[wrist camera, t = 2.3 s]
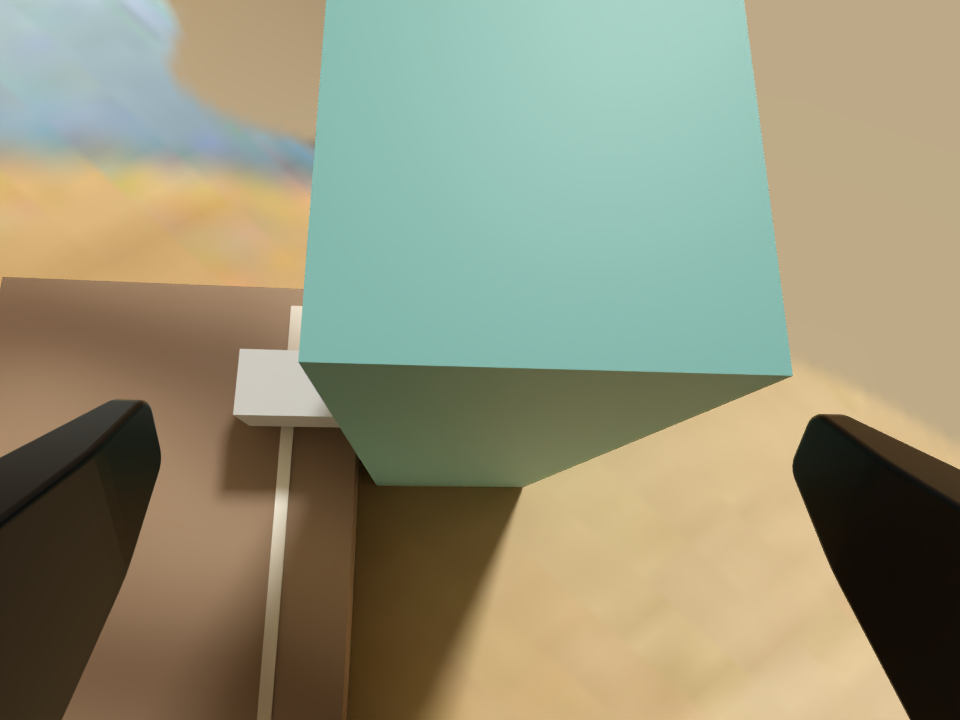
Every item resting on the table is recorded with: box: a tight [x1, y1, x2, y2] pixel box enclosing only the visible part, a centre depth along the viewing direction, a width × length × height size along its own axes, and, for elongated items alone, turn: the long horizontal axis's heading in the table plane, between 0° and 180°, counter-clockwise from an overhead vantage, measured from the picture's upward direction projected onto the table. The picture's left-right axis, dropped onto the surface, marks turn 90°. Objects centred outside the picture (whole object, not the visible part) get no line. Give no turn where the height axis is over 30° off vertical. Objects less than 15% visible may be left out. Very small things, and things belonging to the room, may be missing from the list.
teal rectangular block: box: [233, 0, 793, 487], centre depth 12 cm, size 4×7×13 cm, turn 90°
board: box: [0, 277, 360, 720], centre depth 15 cm, size 20×9×2 cm, turn 0°
